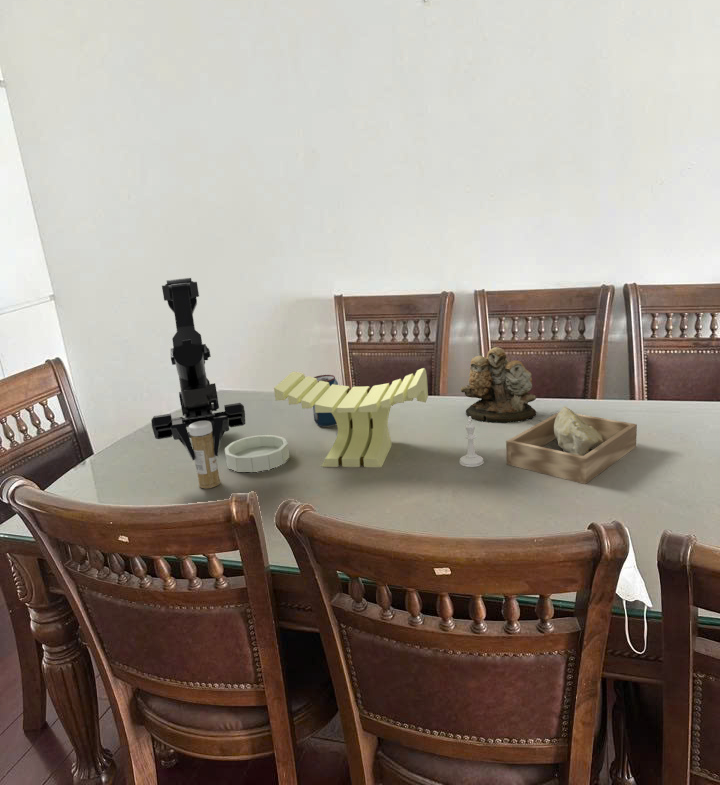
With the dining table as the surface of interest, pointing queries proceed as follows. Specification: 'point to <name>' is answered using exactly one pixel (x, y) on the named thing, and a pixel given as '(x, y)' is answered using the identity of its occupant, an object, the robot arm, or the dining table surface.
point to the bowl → (256, 453)
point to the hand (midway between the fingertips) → (205, 457)
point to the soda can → (325, 418)
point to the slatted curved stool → (354, 413)
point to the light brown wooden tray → (565, 465)
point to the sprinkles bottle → (204, 454)
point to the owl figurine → (499, 389)
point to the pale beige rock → (575, 433)
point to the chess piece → (471, 448)
